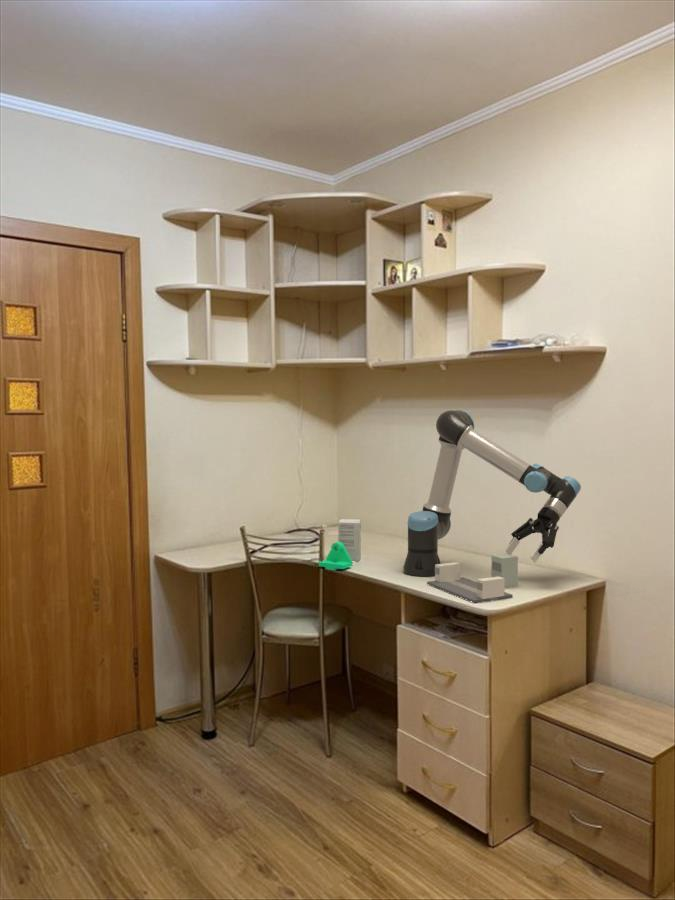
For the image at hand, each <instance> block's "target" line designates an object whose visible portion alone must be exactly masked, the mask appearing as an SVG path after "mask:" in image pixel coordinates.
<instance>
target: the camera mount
mask: <svg viewBox="0 0 675 900" xmlns="http://www.w3.org/2000/svg"><path fill="white" fill-rule="evenodd" d="M321 561H322V560H320V561H318V567H323V568H324V570H328V571H329V570H330V571H338V570H344V569H348V568H350V567H352V566H353V563H354V562H352V560H351V558H350V556H349V554H348V552H347V550H346V548H345V546H344V544H343V543H342V542H338V541H337V542H334V543H332V544H331V546H330V551H329V553H328V554H327V556H326V558H325V559H323V561H322V562H321Z"/></svg>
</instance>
